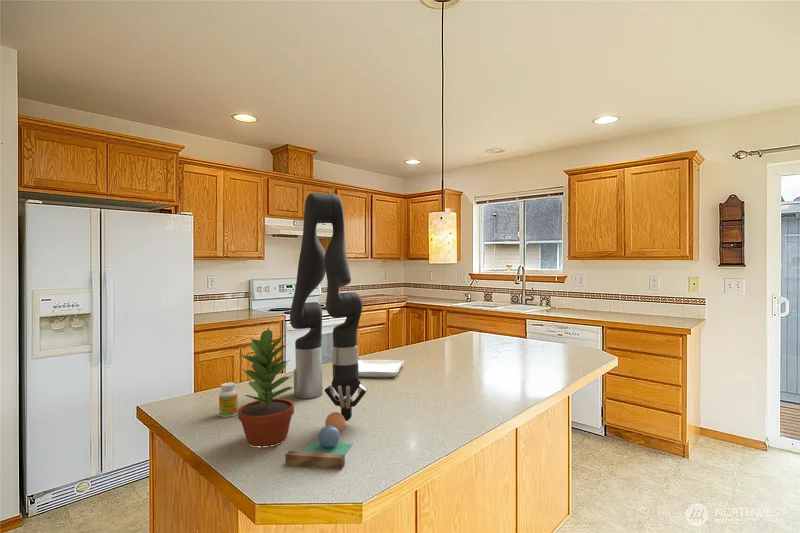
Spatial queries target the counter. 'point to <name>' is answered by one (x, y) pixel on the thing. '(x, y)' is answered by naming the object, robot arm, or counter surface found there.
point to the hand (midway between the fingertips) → (346, 419)
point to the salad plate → (379, 368)
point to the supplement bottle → (228, 400)
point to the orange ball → (335, 420)
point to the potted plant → (266, 396)
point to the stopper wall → (315, 459)
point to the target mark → (318, 448)
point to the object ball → (329, 436)
